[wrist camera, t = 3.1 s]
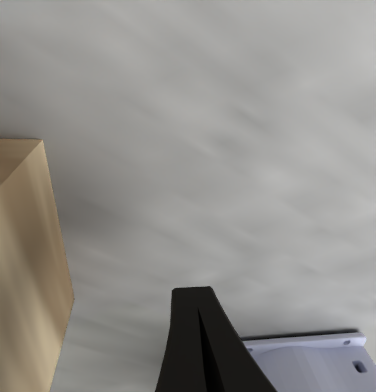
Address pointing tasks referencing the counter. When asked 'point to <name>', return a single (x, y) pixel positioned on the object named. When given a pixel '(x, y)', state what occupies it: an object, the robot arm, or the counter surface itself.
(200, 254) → the counter surface
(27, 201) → the maple tile
